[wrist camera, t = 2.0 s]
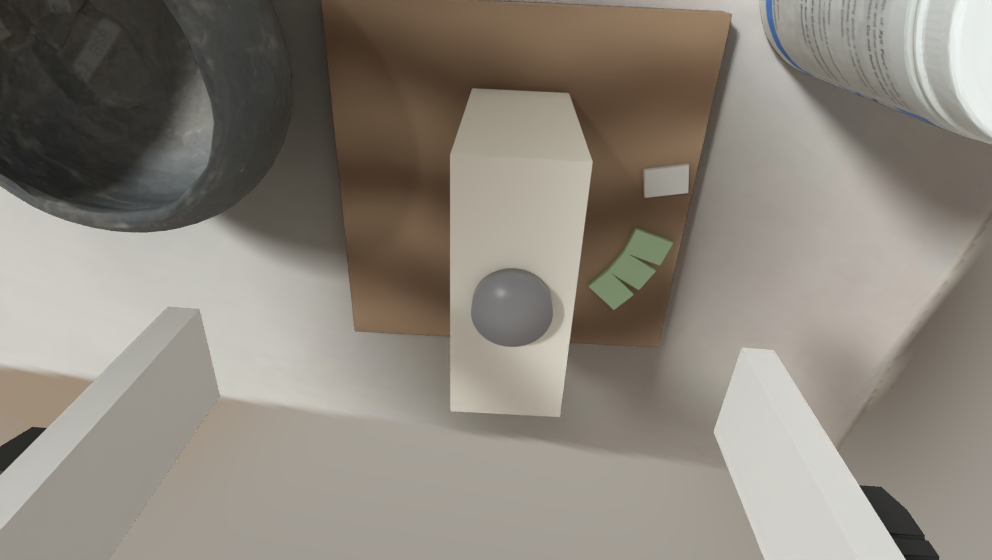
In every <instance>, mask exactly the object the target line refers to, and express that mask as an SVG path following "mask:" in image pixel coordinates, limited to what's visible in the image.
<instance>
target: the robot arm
mask: <svg viewBox="0 0 992 560" xmlns="http://www.w3.org/2000/svg"><path fill="white" fill-rule="evenodd" d="M219 397H220V394H219V390H218V386H217V381H216V377H215V373H214V369H213V365H212V360H211V356H210V352H209V348H208V343H207V339H206V335H205V331H204V326H203V322H202V318H201V314H200V309H192V308H178V307H167V308H166V309H165V310H164V311H163V312H162V313H161V314H160V315H159V316H158V317H157V318H156V319H155V320H154V321H153V322H152V323H151V324H150V325H149V326H148V327H147V328H146V329H145V330H144V331H143V332H142V333H141V334H140V335H139V336H138V337H137V338H136V339H135V340H134V341H133V342H132V343H131V344H130V345H129V346H128V347H127V348H126V349H125V350H124V351H123V352H122V353H121V354H120V355H119V356H118V357H117V358H116V359H115V360H114V361H113V362H112V363H111V364H110V365H109V366H108V367H107V368H106V369H105V370H104V372H103V373H102V374H101V375H100V376H99V377H98V378H97V379H96V380H95V381H94V382H93V383H92V384H91V385H90V386H89V387H88V388H87V389H86V390H85V391H84V392H83V393H82V394H81V395H80V396H79V397H78V398H77V399H76V400H75V401H74V402H73V403H72V404H71V405H70V406H69V407H68V408H67V409H66V410H65V411H64V412H63V413H62V414H61V415H60V416H59V417H58V418H57V419H56V420H55V421H54V422H53V423H52V424H51V425H50V426H49V427H48V428H39V427H31V428H30V429H28V430H27V431H25V432H23V433H22V434H20V435H18V436H17V437H15V438H13V439H12V440H10V441H8V442H7V443H5V444H3V445H2V446H1V447H0V560H109V559H110V557H111V556H112V554H113V553H114V552H115V550H116V549H117V547H118V546H119V544H120V543H121V541H122V540H123V538H124V537H125V535H126V534H127V532H128V531H129V529H130V528H131V526H132V525H133V524H134V522H135V521H136V519H137V518H138V516H139V515H140V513H141V512H142V510H143V509H144V507H145V506H146V504H147V503H148V501H149V500H150V499H151V497H152V496H153V494H154V493H155V491H156V490H157V488H158V487H159V485H160V484H161V482H162V480H163V479H164V478H165V476H166V475H167V473H168V472H169V470H170V469H171V468H172V466H173V464H174V463H175V462H176V460H177V459H178V457H179V456H180V454H181V453H182V451H183V450H184V448H185V447H186V445H187V444H188V443H189V441H190V439H191V438H192V437H193V435H194V433H195V432H196V430H197V429H198V428H199V426H200V425H201V423H202V422H203V420H204V419H205V417H206V416H207V415H208V413H209V412H210V410H211V408H212V407H213V406H214V404H215V403H216V401H217V400H218V398H219ZM714 434H715V437H716V439H717V442H718V444H719V447H720V449H721V452H722V454H723V457H724V459H725V462H726V464H727V467H728V470H729V472H730V475H731V477H732V479H733V482H734V485H735V487H736V490H737V492H738V495H739V497H740V499H741V502H742V505H743V507H744V510H745V512H746V515H747V517H748V519H749V522H750V525H751V527H752V530H753V532H754V535H755V537H756V540H757V542H758V545H759V547H760V550H761V552H762V555H763V557H764V560H939V556H938V554H937V553H936V551H935V550H934V548H933V547H932V545H931V544H930V543H929V541H926V540H925V538H924V536H925V535H924V534H923V532H922V531H921V530H920V528H919V527H918V525H917V524H916V522H915V521H914V519H913V518H912V516H911V515H910V513H909V512H908V511H907V509H905V508H904V507H903V506H902V505H901V504H900V503H899V502H898V501H896V500H895V499H894V498H893V497H892V496H891V495H890V494H889V493H887V492H886V491H885V490H884V489H883V488H882V487H875V486H860V485H858V484H857V482H856V480H855V478H854V477H853V475H852V474H851V472H850V471H849V469H848V467H847V466H846V464H845V463H844V461H843V459H842V458H841V456H840V455H839V453H838V451H837V450H836V448H835V447H834V445H833V443H832V442H831V440H830V439H829V437H828V436H827V434H826V432H825V431H824V429H823V428H822V426H821V424H820V423H819V421H818V420H817V418H816V417H815V415H814V413H813V412H812V410H811V409H810V407H809V405H808V404H807V402H806V401H805V399H804V397H803V396H802V394H801V393H800V391H799V390H798V388H797V386H796V385H795V383H794V382H793V380H792V378H791V377H790V375H789V374H788V372H787V370H786V369H785V367H784V366H783V364H782V363H781V361H780V359H779V358H778V356H777V355H776V353H775V351H774V350H767V349H753V348H741V351H740V354H739V357H738V360H737V363H736V366H735V369H734V372H733V375H732V378H731V381H730V384H729V387H728V390H727V393H726V396H725V399H724V402H723V405H722V408H721V411H720V414H719V417H718V420H717V423H716V426H715V429H714Z"/></svg>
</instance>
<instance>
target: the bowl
mask: <svg viewBox="0 0 992 560" xmlns="http://www.w3.org/2000/svg"><path fill="white" fill-rule="evenodd" d="M291 107H292V81H291V70H290V61H289V57H288V53H287V49H286V45H285V41H284V37H283V34H282V30H281V27H280V24H279V21H278V18H277V15H276V12H275V10H274V8H273V6H272V4H271V1H270V0H0V186H1V187H2V188H4V189H6V190H7V191H9V192H10V193H12V194H13V195H15V196H16V197H18V198H20V199H21V200H23V201H25V202H26V203H28V204H30V205H31V206H33V207H35V208H37V209H40V210H42V211H44V212H46V213H48V214H51V215H53V216H56V217H59V218H61V219H64V220H67V221H70V222H74V223H78V224H81V225H85V226H88V227H93V228H98V229H104V230H110V231H121V232H156V231H166V230H172V229H177V228H181V227H185V226H189V225H192V224H196V223H199V222H201V221H204V220H206V219H209V218H211V217H214V216H216V215H218V214H220V213H222V212H224V211H225V210H227V209H228V208H230V207H232V206H233V205H235V204H236V203H237V202H238V201H240V200H241V199H242V198H243V197H244V196H245V195H247V194H248V193H249V192H250V191H251V190H252V189H253V188H254V187H255V186H256V185H257V184H258V183H259V182H260V181H261V179H262V178H263V177H264V175H265V174H266V173H267V171H268V170H269V169H270V167H271V166H272V164H273V162H274V160H275V159H276V157H277V155H278V153H279V151H280V148H281V146H282V144H283V142H284V139H285V136H286V133H287V129H288V125H289V121H290V116H291Z"/></svg>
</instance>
